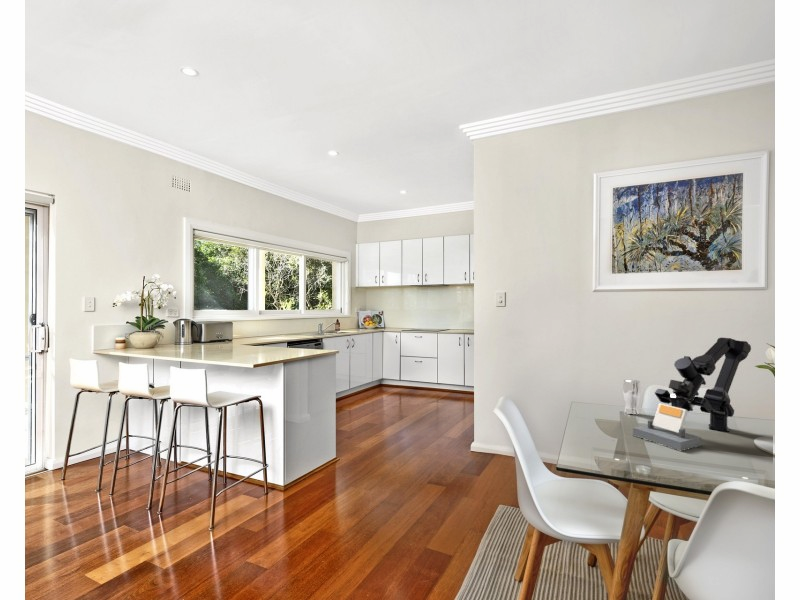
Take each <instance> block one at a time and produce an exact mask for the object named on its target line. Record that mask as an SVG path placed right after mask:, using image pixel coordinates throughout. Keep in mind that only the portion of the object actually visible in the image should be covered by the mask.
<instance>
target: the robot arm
mask: <svg viewBox="0 0 800 600" xmlns="http://www.w3.org/2000/svg"><path fill="white" fill-rule="evenodd" d="M751 346H752V345H751V344H749V342H748V341H746V340H736V339H734V338H731V337H719V338H717V341H716V342H714V344H713V345H712V346H711V347H710V348H709V349H708V350H707V351H706V352H705V353H704V354H702V355H699V356H695V357H694V358H691V356H688V355H684V356H683V357H682V358H679V359H677V360H675V361H674V363H673V364H674V368H675V369H676V370H677V372H678V373H679V375H680V376H681V378H684V379H683V381H681V380H675V379H670V381H669V383H668V388H669V389H672V393H670V392H669V390H667V389H662V388H657V389H656V390H655V392H654V395H656V397H657V399H658V400H659V402H661V403H662V404H666V405H668V404H671V405H670V406H673V407H678V408H682V409H686V410H687V411H688V412H693V411H694V409H693V408H694V407H695V406H697V407H699V409H700V411H701V412H702V413H707V414H709V423H708V429H709V430H712V431H713V430H715V431H722V432H730V429H729V426H728V417H734V415H735V409H734V408H733V406H732V405H731V398H730V395H729V391H730V389H731V386H732V383H733V381H734V378H735V375H736V374H737V373H736V372H737V370H738V367H739V365H740V363H741V362H742V361H744V360H746V359H747V357H748V356H749V353H750V352H751V351H752V347H751ZM723 356H724V357H725V358H724V360H723V363H722V366H721V368H720V371H719V374H718V375H717V378H716V381H715V384H714V386H713V388H707V389H706V390H705V393H704V395H703V397H701V396H699V395H700V394H699V390H700V388H701V386H703V385H704V386H705V385H707V382H706V380H705V377H703V376H712V374H713V373H714V372H715V370H716V369H717V367H716V364H717V362H719V360H721V358H722V357H723Z"/></svg>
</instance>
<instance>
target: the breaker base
mask: <svg viewBox="0 0 800 600" xmlns="http://www.w3.org/2000/svg"><path fill="white" fill-rule="evenodd" d="M653 421H654V419H650V420H647V424H645V425H640V426H639V425H638V426H634V427H632V436H633V435H636V436H639V437H642V438H645V439H648V440H651V441H654V442H657V443H660V444H663V445H666V446H669V447H672V448H675V449H678V450H684V449H688V448H692V449H694V448H693V447H695V448H698V446H699V447H701V446H702V437H701V436H697V435H695V434H691V433H687V432H686V429H685V428H683V429H679V433H675V432H672V431H668V430H665V429H662V428H658V427H655V426H653V425H652V424H653ZM672 448H671V449H672ZM675 449H674V450H675ZM678 450H677V451H678ZM688 450H689V449H688ZM684 451H685V450H684Z"/></svg>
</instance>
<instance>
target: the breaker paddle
mask: <svg viewBox="0 0 800 600" xmlns="http://www.w3.org/2000/svg"><path fill="white" fill-rule="evenodd" d="M688 412H689V411H687V410H686V409H682V408H678V407H673V406H671V405H668V404H666V403H662V402H661V403H660V402H659V403H658V405H657V409H656V412H655V415H654V417H653V420H654V421H653V424H652V425H653V426H655V427H658V428H662V429H665V430H668V431H672V432H675V433H679V429H684V426H685V422H686V419H687V416H688Z"/></svg>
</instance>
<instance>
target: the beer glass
mask: <svg viewBox="0 0 800 600" xmlns="http://www.w3.org/2000/svg"><path fill="white" fill-rule="evenodd" d="M622 384H623V385H622V391H623V392H622V393H623V394H622V395H623V399H624V400H623V401H624V410H623V413H624V412H627V413H634V414H638V413H639V414H640V411H639V401H640V397H641V381H639V380H636V379H623V383H622Z"/></svg>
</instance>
